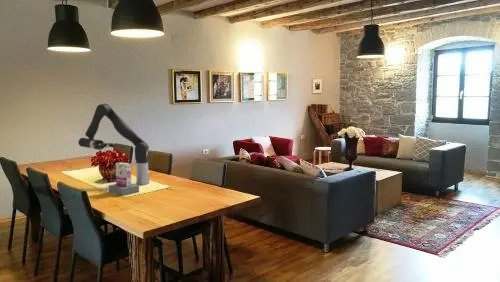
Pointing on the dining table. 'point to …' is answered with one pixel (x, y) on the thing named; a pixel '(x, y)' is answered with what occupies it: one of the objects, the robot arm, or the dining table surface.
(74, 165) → the dining table surface
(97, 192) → the dining table surface
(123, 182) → the candy bar box
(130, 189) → the charcoal plinth
